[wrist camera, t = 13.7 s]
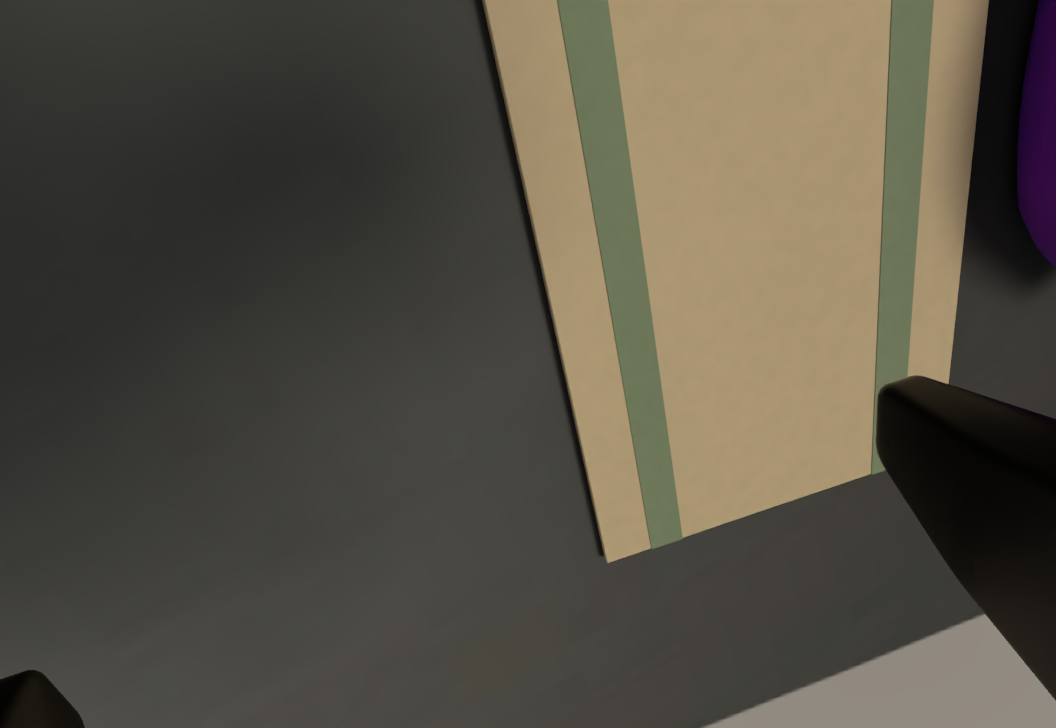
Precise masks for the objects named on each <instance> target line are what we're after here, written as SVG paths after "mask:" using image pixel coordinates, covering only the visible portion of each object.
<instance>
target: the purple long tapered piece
mask: <svg viewBox="0 0 1056 728" xmlns="http://www.w3.org/2000/svg"><path fill="white" fill-rule="evenodd" d="M1017 194H1018V206H1019V210H1020V213H1021V216H1022V218H1023V220H1024V222H1025V225H1026V227H1027V229H1028V230H1029V232H1030V234H1031V237H1032V239H1033V241H1034V243H1035V245H1036V246H1037V248H1038V249H1039V251H1040V252H1041V253H1042V254H1043V256H1044V257H1045V258H1046V259H1047V260H1048V261H1049V262H1050V263H1051V264H1052V265H1054V266H1055V267H1056V0H1038V5H1037V11H1036V16H1035V21H1034V26H1033V32H1032V37H1031V42H1030V48H1029V53H1028V59H1027V65H1026V71H1025V77H1024V83H1023V92H1022V101H1021V110H1020V119H1019V134H1018V160H1017Z"/></svg>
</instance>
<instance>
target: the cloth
mask: <svg viewBox="0 0 1056 728" xmlns="http://www.w3.org/2000/svg"><path fill="white" fill-rule="evenodd" d="M482 2H483V7H484V12H485V16H486V21H487V25H488V30H489V34H490V39H491V43H492V48H493V53H494V57H495V62H496V66H497V71H498V75H499V80H500V84H501V89H502V93H503V98H504V103H505V107H506V112H507V116H508V121H509V125H510V130H511V134H512V139H513V144H514V148H515V153H516V157H517V162H518V166H519V171H520V175H521V180H522V185H523V189H524V194H525V198H526V203H527V207H528V212H529V216H530V221H531V225H532V230H533V235H534V239H535V244H536V248H537V253H538V257H539V262H540V266H541V271H542V276H543V280H544V285H545V289H546V294H547V298H548V303H549V307H550V312H551V317H552V321H553V326H554V330H555V335H556V339H557V344H558V348H559V353H560V357H561V362H562V367H563V371H564V376H565V380H566V385H567V389H568V394H569V398H570V403H571V408H572V412H573V417H574V421H575V426H576V430H577V435H578V439H579V444H580V449H581V453H582V458H583V462H584V467H585V471H586V476H587V480H588V485H589V490H590V494H591V499H592V503H593V508H594V512H595V517H596V521H597V526H598V530H599V535H600V540H601V544H602V549H603V553H604V557H605V559H606V562H607V563H609V562H612V561H615V560H618V559H621V558H624V557H627V556H630V555H633V554H636V553H639V552H642V551H645V550H647V549H650V548H651V549H654V548H657V547H660V546H663V545H666V544H669V543H672V542H675V541H678V540H681V539H683V537H686V536H689V535H692V534H695V533H698V532H701V531H704V530H707V529H709V528H712V527H715V526H718V525H721V524H724V523H727V522H730V521H733V520H736V519H739V518H742V517H745V516H748V515H751V514H754V513H757V512H760V511H763V510H766V509H768V508H771V507H774V506H777V505H780V504H783V503H786V502H789V501H792V500H795V499H798V498H801V497H804V496H807V495H810V494H813V493H816V492H819V491H822V490H825V489H828V488H830V487H833V486H836V485H839V484H842V483H845V482H848V481H851V480H854V479H857V478H860V477H863V476H866V475H869V474H871V475H873V474H876V473H879V472H881V471H884V470H886V469H885V468H884V466H883V464H882V463H881V461H880V458H879V456H878V453H877V449H876V417H877V398H878V393H879V391H880V389H881V387H883V386H884V385H886V384H888V383H891V382H894V381H897V380H900V379H903V378H906V377H909V376H914V375H920V376H924V377H928V378H931V379H934V380H937V381H940V382H943V383H946V384H948V383H949V374H950V364H951V355H952V345H953V336H954V326H955V317H956V307H957V298H958V288H959V279H960V270H961V260H962V251H963V241H964V232H965V222H966V213H967V203H968V194H969V184H970V175H971V165H972V156H973V146H974V137H975V128H976V118H977V109H978V99H979V90H980V80H981V71H982V61H983V52H984V42H985V33H986V23H987V14H988V4H989V0H482Z"/></svg>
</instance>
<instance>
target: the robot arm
mask: <svg viewBox="0 0 1056 728" xmlns="http://www.w3.org/2000/svg"><path fill="white" fill-rule="evenodd" d="M876 449H877V453H878V456H879V458H880V461H881V463H882V464H883V466H884V468H885V469H886V471H887V472H888V474H889V475H890V477H891V478H892V480H893V482H894V483H895V485H896V486H897V488H898V489H899V491H900V492H901V494H902V495H903V497H904V499H905V500H906V502H907V503H908V505H909V506H910V508H911V509H912V511H913V512H914V514H915V515H916V517H917V519H918V520H919V522H920V523H921V525H922V526H923V528H924V529H925V531H926V532H927V534H928V536H929V537H930V539H931V540H932V542H933V543H934V545H935V546H936V548H937V549H938V551H939V552H940V554H941V556H942V557H943V559H944V560H945V562H946V563H947V565H948V566H949V567H950V569H951V570H952V572H953V573H954V575H955V576H956V578H957V579H958V580H959V581H960V583H961V584H962V585H963V587H964V588H965V589H966V591H967V592H968V593H969V594H970V596H971V597H972V598H973V599H974V601H975V602H976V603H977V604H978V606H979V607H980V608H981V609H982V611H983V612H984V613H985V614H986V615H987V616H988V618H989V619H990V620H991V622H992V623H993V624H994V625H995V626H996V628H997V629H998V630H999V631H1000V633H1001V634H1002V635H1003V636H1004V638H1005V639H1006V640H1007V641H1008V642H1009V644H1010V645H1011V646H1012V647H1013V649H1014V650H1015V651H1016V652H1017V654H1018V655H1019V656H1020V657H1021V658H1022V660H1023V661H1024V662H1025V663H1026V665H1027V666H1028V667H1029V668H1030V669H1031V671H1032V672H1033V673H1034V674H1035V676H1036V677H1037V678H1038V679H1039V681H1040V682H1041V683H1042V684H1043V685H1044V687H1045V688H1046V689H1047V690H1048V692H1049V693H1050V694H1051V695H1052V697H1053V698H1054V699H1055V700H1056V419H1054V418H1051V417H1048V416H1044V415H1041V414H1038V413H1035V412H1032V411H1029V410H1026V409H1023V408H1020V407H1017V406H1014V405H1011V404H1008V403H1005V402H1001V401H998V400H995V399H992V398H989V397H986V396H983V395H980V394H977V393H974V392H971V391H968V390H965V389H962V388H959V387H955V386H952V385H949V384H946V383H943V382H940V381H937V380H934V379H931V378H928V377H924V376H920V375H914V376H909V377H906V378H903V379H900V380H897V381H894V382H891V383H888V384H886V385H884V386H883V387H881V389H880V391H879V393H878V398H877V417H876ZM0 728H85V727H84V724H83V721H82V719H81V717H80V715H79V714H78V712H77V711H76V710H75V709H74V707H73V706H72V705H71V704H70V703H69V702H68V701H67V700H66V699H65V697H64V696H63V695H62V694H61V693H60V692H59V691H58V690H57V688H56V687H55V686H54V685H53V684H52V683H51V682H50V681H49V680H48V678H47V677H46V676H45V675H44V674H42V673H41V672H38V671H36V670H27V671H24V672H21V673H18V674H15V675H12V676H9V677H6V678H3V679H0Z"/></svg>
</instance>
